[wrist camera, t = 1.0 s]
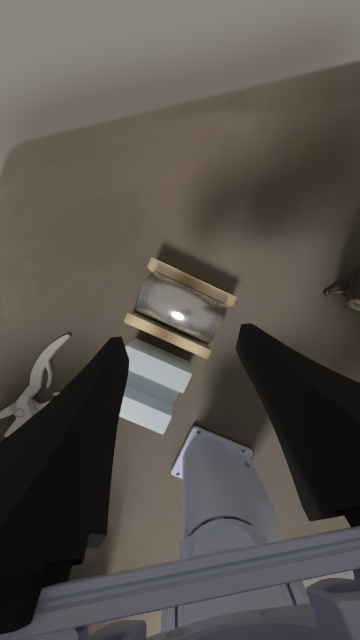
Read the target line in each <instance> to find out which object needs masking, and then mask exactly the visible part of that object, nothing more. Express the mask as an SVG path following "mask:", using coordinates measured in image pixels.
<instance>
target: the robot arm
mask: <svg viewBox="0 0 360 640" xmlns="http://www.w3.org/2000/svg"><path fill="white" fill-rule="evenodd" d="M236 350H237V353H238V355H239V358H240V361H241V363H242V365H243V367H244V369H245V371H246V372H247V374H248V376H249V378H250V380H251V382H252V383H253V385H254V387H255V389H256V391H257V392H258V394H259V396H260V398H261V400H262V402H263V404H264V406H265V408H266V411H267V413H268V415H269V418H270V420H271V422H272V425H273V427H274V430H275V432H276V435H277V437H278V440H279V442H280V445H281V447H282V450H283V453H284V455H285V458H286V461H287V463H288V466H289V469H290V472H291V475H292V478H293V481H294V484H295V486H296V489H297V492H298V496H299V499H300V502H301V505H302V507H303V509H304V511H305V513H306V515H307V517H308V519H309V521H315V520H321V519H327V518H332V517H338V516H343V515H344V516H345V518H346V519H347V521H348V523H349V524H350V526H351V527H350V528H345V529H340V530H335V531H329V532H324V533H319V534H314V535H308V536H303V537H298V538H293V539H287V540H282V541H281V533H280V528H279V523H278V519H277V515H276V512H275V509H274V507H273V505H272V503H271V500H270V498H269V496H268V494H267V492H266V490H265V488H264V486H263V484H262V482H261V479H260V477H259V475H258V473H257V471H256V469H255V467H254V465H253V463H252V460H251V457H252V455H253V452H252V450H251V449H250V448H247V447H245V446H243V445H240V444H238V443H235V442H233V441H231V440H228V439H226V438H224V437H221V436H219V435H217V434H214V433H212V432H209V431H207V430H205V429H202V428H200V427H198V426H193V427H192V429H191V431H190V433H189V435H188V437H187V439H186V441H185V443H184V445H183V447H182V449H181V451H180V453H179V455H178V457H177V459H176V461H175V463H174V465H173V467H172V469H171V474H172V475H174V476H176V477H179V478H181V479H182V481H183V521H184V539H183V540H180V560H177V561H172V562H167V563H162V564H157V565H151V566H146V567H141V568H136V569H130V570H125V571H120V572H115V573H109V574H104V575H99V576H94V577H88V578H83V579H78V580H73V581H68V579H69V575H70V571H71V567H72V566H74V565H79V564H82V563H83V561H84V556H85V551H86V550H91V549H96V548H98V547H99V546H100V545H101V543H102V542H103V540H104V539H105V537H106V535H107V524H108V510H109V497H110V486H111V475H112V465H113V456H114V448H115V440H116V432H117V425H118V419H119V414H120V410H121V405H122V401H123V397H124V392H125V388H126V383H127V379H128V371H129V357H128V354H127V352H126V349H125V346H124V343H123V340H122V337H114V338H110V339H109V340H108V341H107V343H106V344H105V345H104V346H103V347H102V348H101V350H100V351H99V352H98V353H97V354H96V355H95V356H94V358H93V359H92V360H91V361H90V362H89V363H88V364H87V365H86V367H85V368H84V369H83V370H82V371H81V372H80V373H79V374H78V375H77V376H76V377H75V378H74V379H73V380H72V381H71V382H70V383H69V384H68V385H67V386H66V387H65V388H64V389H63V390H62V391H61V392H60V393H59V394H58V395H57V396H55V397H54V398H53V399H52V400H51V401H50V402H49V403H48V404H47V405H45V406H44V407H43V408H42V409H41V410H40V411H38V412H37V413H36V414H35V415H34V416H32V417H31V418H30V419H29V420H27V421H26V422H25V423H24V424H23V425H21V426H20V427H19V428H18V429H17V430H15V431H14V432H13V433H11V434H10V435H9V436H8V437H6V438H5V439H4V440H2V441H1V442H0V640H360V383H359V382H357V381H354V380H352V379H350V378H348V377H345V376H343V375H341V374H339V373H337V372H334V371H332V370H330V369H328V368H326V367H324V366H322V365H320V364H318V363H316V362H314V361H313V360H311V359H309V358H307V357H305V356H303V355H302V354H300V353H298V352H296V351H295V350H293V349H291V348H290V347H288V346H286V345H285V344H283V343H281V342H280V341H278V340H277V339H275V338H274V337H272V336H270V335H269V334H267V333H266V332H264V331H263V330H261V329H259V328H258V327H256V326H255V325H253V324H251V323H250V324H241V328H240V332H239V337H238V341H237V346H236ZM197 431H200V432H197ZM243 449H244V450H243ZM177 472H179V473H177ZM350 570H353V573H354V580H351V579H343V578H328V579H323V580H320V581H318V582H316V583H314V584H312V585H310V586H308V587H307V588H306V589H305V587H304V584H303V582H302V580H307V579H312V578H316V577H321V576H326V575H330V574H336V573H340V572H345V571H350ZM158 610H162V617H161V619H162V620H161V633H159V634H156V635H153V636H150V637H147V638H146V623H145V621H144V620H120V621H116V622H113V623H110V624H108V625H106V626H104V627H102V628H101V629H99V630H97V631H96V632H94V633H93V634H91V635H90V636H89V633H88V626H87V625H91V624H96V623H101V622H105V621H110V620H115V619H120V618H125V617H129V616H134V615H139V614H144V613H149V612H153V611H158Z"/></svg>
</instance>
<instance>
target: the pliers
mask: <svg viewBox="0 0 360 640" xmlns="http://www.w3.org/2000/svg"><path fill="white" fill-rule="evenodd" d="M70 337H71V336H70V334H67V335H65V336H63V337H61V338H59V339H57V340H56V341H54V342H53V343H52V344H51V345H49V346H48V347H47V348H46V349H45V350H44V351H43V353H42V354H41V355H40V356H39V358H38V359H37V361H36V363H35V365H34V367H33V369H32V372H31V375H30V385H29V386H28V387H27V388H26V390H25V391H24V392H23V393H22V395H21V396H20V397H19V398H18V400H17V401H16V402H15V403H13V404H12V405H10V406H8V407H7V408H5V409H4V410H2V411H1V412H0V419H2V418H5V417H7V416H10V415H13V414H14V415H15V416H16V420H15V421H14V422H13V424H12V425H11V426H10V428H9V429H8V430H7V432H6V433H5V434H4V436H5V437H8V436H9V435H10V434H11V433H13V432H14V431H15V430H17V429H18V428H19V427H20V426H21V425H23V424H24V423H25V422H26V421H27V420H29V419H30V418H31V417H32V416H33V415H34V414H36V413H37V412H38V411H40V410H41V409H42V408H43V407H44V406H45V405H47V404H48V403H49V402H50V401H51V400H50V401H47V402H44V403H42V404H40V403H39V402H37V401H36V400H34V399H33V398H32V397H34V396H35V395H36V394H37V393H38V391H39V390H40V389H41V387H42V382H43V376H44V371H45V368H46V369H47V371H48V383H47V386H46V387H47V388H48V387H50V385H51V382H52V378H53V370H52V367H51V361H50V359H51V358H52V357H53V355H54V354H55V353H56V351H57V350H58V349H59V348H60V347H61V346H62V345H63V344H64V343H65V342H66V341H67V340H68V339H69V338H70ZM59 393H60V392H55V393H53V395H58V394H59Z"/></svg>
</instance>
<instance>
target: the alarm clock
mask: <svg viewBox="0 0 360 640" xmlns="http://www.w3.org/2000/svg"><path fill="white" fill-rule="evenodd" d="M324 295H336V296H346V300H345V303H344V304H345V305H346V306H347V307H348V308H350V309H353V310H356V311H360V267H359V268H357V269H356V270H355V271H354V272H353V273H352V276H351V279H350V283H349V287H348V289H347V290H336V291H328V290H326V291H324Z"/></svg>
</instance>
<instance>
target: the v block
mask: <svg viewBox="0 0 360 640" xmlns="http://www.w3.org/2000/svg"><path fill="white" fill-rule="evenodd" d="M125 349H126V352H127V354H128V357H129V371H128V379H127V383H126V388H125V392H124V397H123V401H122V405H121V410H120V414H119V417H122V418H124V419H126V420H129V421H131V422H134V423H136V424H138V425H141V426H143V427H146V428H148V429H151V430H153V431H155V432H158V433H160V434H164V432H165V430H166V428H167V426H168V424H169V422H170V420H171V417H172V408H173V404H174V402H175V399H176V397H177V395H178V393H179V392H180V393H183V392H184V390H185V388H186V386H187V384H188V382H189V380H190V378H191V376H192V371H191V366H190V362H189V361H187V360H185V359H182V358H180V357H178V356H175V355H173V354H171V353H169V352H166V351H164V350H162V349H160V348H157V347H155V346H153V345H151V344H148V343H146V342H144V341H142V340H139V339H137V338H136V339H134V340H133V341H132V342H130V343H129V344H128V345H126V348H125Z"/></svg>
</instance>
